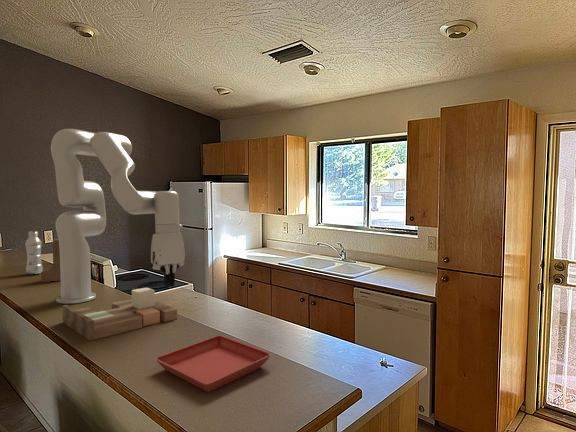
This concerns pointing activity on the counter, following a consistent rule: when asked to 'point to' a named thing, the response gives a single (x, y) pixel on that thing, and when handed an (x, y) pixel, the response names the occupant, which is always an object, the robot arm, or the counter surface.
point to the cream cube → (143, 298)
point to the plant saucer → (213, 362)
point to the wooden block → (54, 271)
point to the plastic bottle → (33, 254)
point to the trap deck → (111, 319)
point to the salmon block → (149, 316)
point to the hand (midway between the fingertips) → (169, 285)
